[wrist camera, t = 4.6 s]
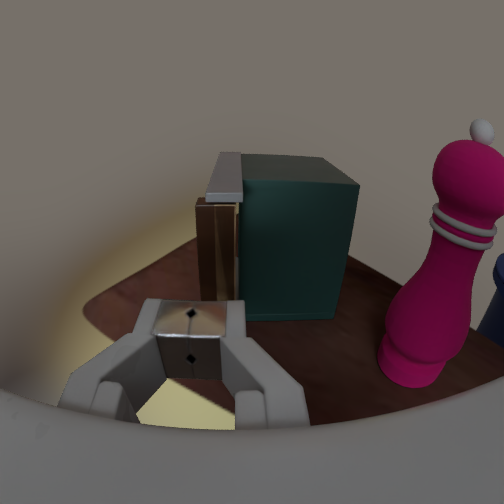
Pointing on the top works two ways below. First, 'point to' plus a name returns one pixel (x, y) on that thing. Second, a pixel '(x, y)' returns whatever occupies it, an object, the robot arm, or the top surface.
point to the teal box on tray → (287, 232)
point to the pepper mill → (446, 262)
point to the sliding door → (216, 249)
